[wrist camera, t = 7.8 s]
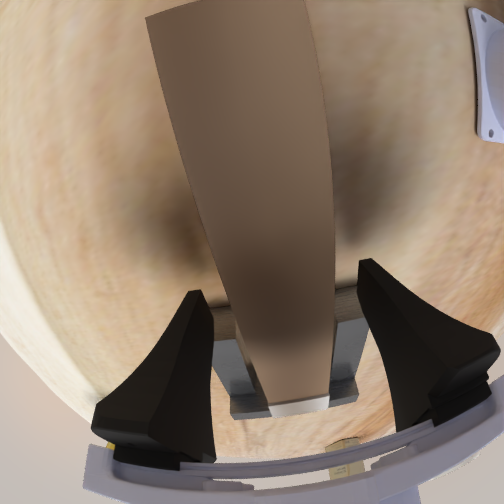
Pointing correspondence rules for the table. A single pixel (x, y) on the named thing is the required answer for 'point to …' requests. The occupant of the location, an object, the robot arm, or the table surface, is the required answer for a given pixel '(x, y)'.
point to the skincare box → (348, 468)
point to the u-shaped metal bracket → (245, 377)
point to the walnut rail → (259, 178)
